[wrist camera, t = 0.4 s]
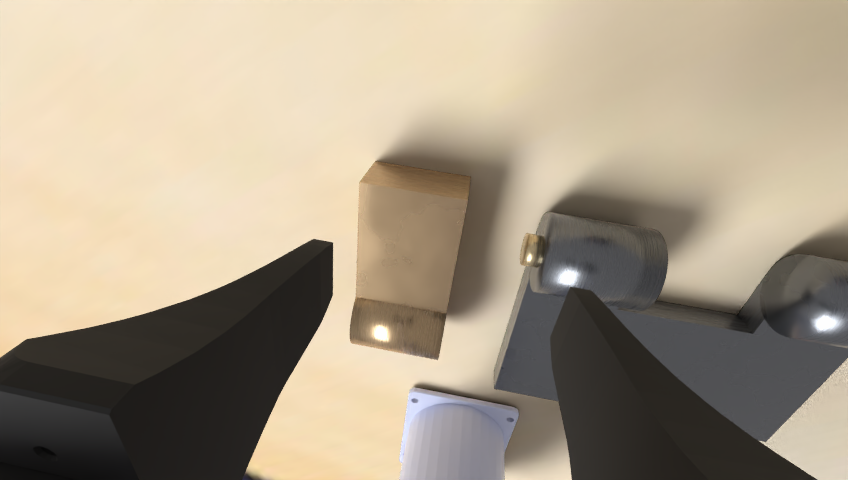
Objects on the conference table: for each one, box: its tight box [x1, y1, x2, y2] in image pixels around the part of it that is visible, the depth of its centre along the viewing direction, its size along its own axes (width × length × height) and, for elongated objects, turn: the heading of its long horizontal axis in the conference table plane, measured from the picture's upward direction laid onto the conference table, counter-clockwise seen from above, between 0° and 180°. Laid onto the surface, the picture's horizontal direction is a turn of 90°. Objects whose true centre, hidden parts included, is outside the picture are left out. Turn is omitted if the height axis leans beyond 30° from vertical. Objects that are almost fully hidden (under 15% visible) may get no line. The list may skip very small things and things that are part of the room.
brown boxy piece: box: [350, 161, 471, 360], centre depth 21 cm, size 10×5×4 cm, turn 174°
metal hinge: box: [494, 212, 848, 442], centre depth 21 cm, size 13×19×4 cm
